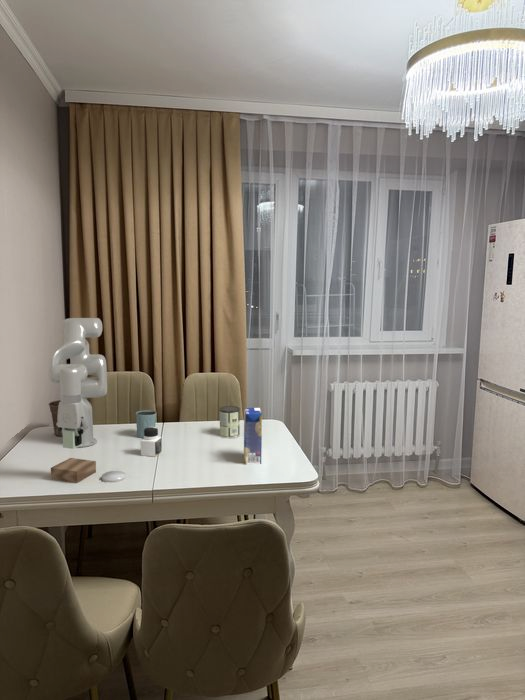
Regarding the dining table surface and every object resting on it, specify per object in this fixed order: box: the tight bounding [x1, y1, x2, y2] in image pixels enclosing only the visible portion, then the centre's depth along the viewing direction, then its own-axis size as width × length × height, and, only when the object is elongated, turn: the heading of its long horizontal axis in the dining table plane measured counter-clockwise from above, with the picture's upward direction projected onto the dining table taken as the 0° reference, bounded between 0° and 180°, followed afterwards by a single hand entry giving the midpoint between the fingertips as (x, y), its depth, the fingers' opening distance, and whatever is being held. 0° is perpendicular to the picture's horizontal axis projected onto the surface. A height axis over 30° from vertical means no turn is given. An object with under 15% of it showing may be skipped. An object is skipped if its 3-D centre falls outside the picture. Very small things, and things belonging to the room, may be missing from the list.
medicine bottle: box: [140, 426, 163, 458], centre depth 230 cm, size 7×7×12 cm
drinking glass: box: [135, 409, 157, 439], centre depth 257 cm, size 10×10×12 cm
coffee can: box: [219, 405, 241, 439], centre depth 259 cm, size 10×10×14 cm
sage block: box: [62, 428, 82, 450], centre depth 202 cm, size 5×5×7 cm
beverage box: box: [243, 407, 263, 465], centre depth 223 cm, size 7×11×22 cm, turn 6°
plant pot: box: [48, 399, 63, 437], centre depth 259 cm, size 16×16×16 cm
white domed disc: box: [101, 470, 127, 483], centre depth 203 cm, size 9×9×2 cm
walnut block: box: [50, 457, 97, 484], centre depth 204 cm, size 12×12×5 cm
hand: (72, 443), depth 202 cm, fingers closed on sage block, 5 cm apart
